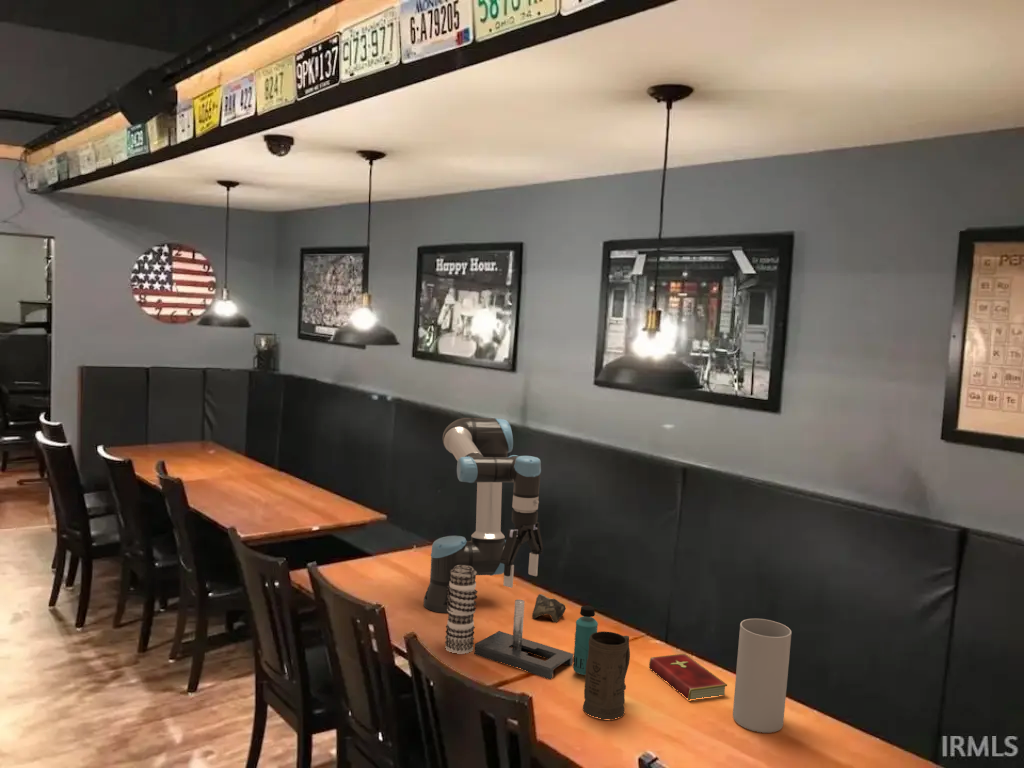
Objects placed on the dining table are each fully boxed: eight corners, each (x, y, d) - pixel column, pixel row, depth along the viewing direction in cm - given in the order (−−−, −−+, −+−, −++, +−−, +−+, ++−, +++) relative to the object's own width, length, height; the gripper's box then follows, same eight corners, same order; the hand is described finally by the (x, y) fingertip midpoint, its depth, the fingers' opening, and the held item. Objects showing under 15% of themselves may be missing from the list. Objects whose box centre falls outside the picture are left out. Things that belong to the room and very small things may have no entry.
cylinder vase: (754, 737, 202) (762, 639, 200) (722, 714, 214) (730, 621, 212) (793, 730, 207) (802, 634, 205) (760, 707, 219) (768, 616, 217)
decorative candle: (437, 647, 246) (441, 566, 243) (459, 639, 252) (464, 560, 250) (458, 657, 239) (462, 574, 237) (480, 649, 246) (485, 568, 244)
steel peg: (504, 657, 241) (507, 601, 240) (513, 651, 246) (517, 596, 244) (519, 662, 238) (522, 605, 237) (528, 656, 243) (531, 600, 241)
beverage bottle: (597, 673, 234) (602, 605, 233) (591, 682, 228) (596, 612, 226) (575, 668, 236) (579, 601, 235) (569, 677, 230) (573, 608, 228)
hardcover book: (688, 703, 220) (689, 688, 219) (648, 670, 239) (649, 656, 239) (726, 698, 224) (727, 683, 224) (683, 666, 244) (685, 652, 243)
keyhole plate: (474, 654, 242) (474, 643, 242) (498, 640, 253) (499, 630, 253) (550, 679, 228) (550, 668, 228) (572, 664, 239) (573, 653, 239)
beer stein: (612, 726, 204) (620, 647, 203) (574, 713, 209) (581, 636, 209) (636, 707, 217) (644, 633, 216) (600, 695, 222) (607, 622, 222)
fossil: (566, 611, 281) (567, 590, 275) (563, 632, 273) (564, 611, 268) (535, 606, 282) (535, 586, 277) (531, 627, 275) (531, 606, 269)
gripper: (512, 520, 226) (508, 594, 228) (557, 504, 247) (552, 573, 249) (490, 514, 230) (486, 588, 232) (536, 500, 251) (531, 567, 253)
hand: (520, 580), depth 240 cm, fingers open, 13 cm apart
